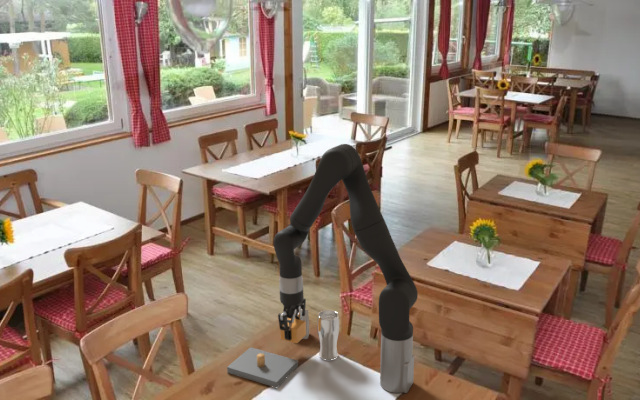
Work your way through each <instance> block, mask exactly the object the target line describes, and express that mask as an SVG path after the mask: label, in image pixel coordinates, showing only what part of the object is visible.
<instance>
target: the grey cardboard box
mask: <svg viewBox="0 0 640 400" xmlns="http://www.w3.org/2000/svg"><path fill="white" fill-rule="evenodd" d="M301 311H302V309H301ZM294 319H295V318H294ZM302 320H303V321H306V335H305V336H304V337H303V338H302V339H303V340H308V339H309V335H310V316H309V309H305V316H303V319H302ZM302 339H301V340H302Z"/></svg>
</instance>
